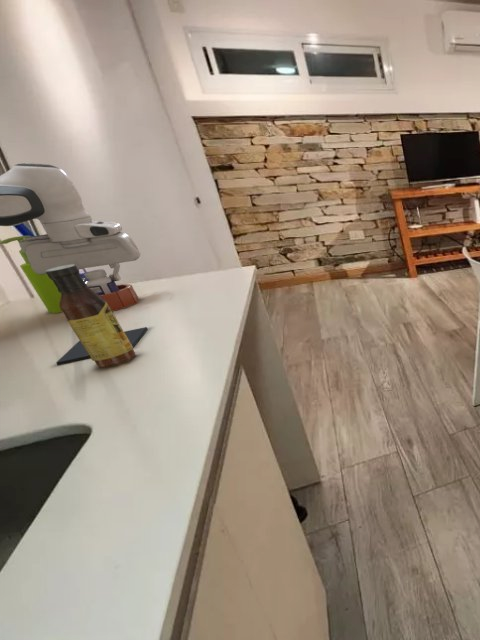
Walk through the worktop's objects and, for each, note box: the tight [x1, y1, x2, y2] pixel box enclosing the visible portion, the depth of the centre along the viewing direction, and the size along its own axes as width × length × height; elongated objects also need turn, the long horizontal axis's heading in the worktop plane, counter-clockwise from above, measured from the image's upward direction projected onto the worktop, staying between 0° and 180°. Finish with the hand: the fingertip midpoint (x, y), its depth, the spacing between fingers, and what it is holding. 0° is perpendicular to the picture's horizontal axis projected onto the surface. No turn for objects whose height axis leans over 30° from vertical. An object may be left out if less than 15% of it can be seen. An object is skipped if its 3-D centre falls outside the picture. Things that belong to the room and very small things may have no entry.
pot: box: [99, 283, 140, 312], centre depth 127 cm, size 10×10×4 cm
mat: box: [56, 326, 148, 366], centre depth 103 cm, size 12×12×1 cm
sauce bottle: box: [46, 264, 136, 368], centre depth 91 cm, size 6×6×20 cm
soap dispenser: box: [0, 235, 63, 314], centre depth 124 cm, size 6×7×20 cm
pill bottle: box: [83, 268, 119, 295], centre depth 125 cm, size 5×5×9 cm
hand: (100, 283), depth 125 cm, fingers closed on pill bottle, 5 cm apart
